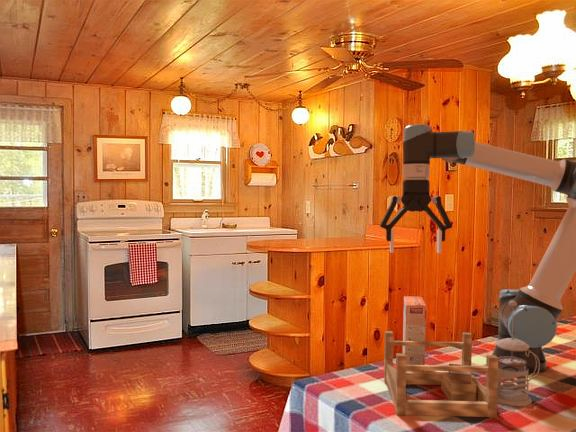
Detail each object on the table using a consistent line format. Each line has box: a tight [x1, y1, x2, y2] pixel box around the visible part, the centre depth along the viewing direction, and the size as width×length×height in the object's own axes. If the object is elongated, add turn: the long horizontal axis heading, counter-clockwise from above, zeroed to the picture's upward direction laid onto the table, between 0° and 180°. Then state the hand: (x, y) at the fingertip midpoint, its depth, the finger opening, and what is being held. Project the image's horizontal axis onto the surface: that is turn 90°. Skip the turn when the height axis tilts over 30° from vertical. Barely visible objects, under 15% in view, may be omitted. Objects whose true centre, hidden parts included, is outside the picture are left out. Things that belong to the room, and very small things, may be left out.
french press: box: [494, 301, 540, 407], centre depth 132 cm, size 10×12×25 cm
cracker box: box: [402, 295, 427, 372], centre depth 152 cm, size 14×6×21 cm, turn 170°
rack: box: [383, 330, 498, 418], centre depth 132 cm, size 23×22×14 cm
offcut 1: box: [448, 363, 472, 384], centre depth 133 cm, size 5×7×2 cm
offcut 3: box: [440, 382, 476, 401], centre depth 133 cm, size 6×9×2 cm, turn 0°
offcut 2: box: [442, 373, 476, 394], centre depth 133 cm, size 6×8×2 cm
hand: (415, 252), depth 151 cm, fingers open, 13 cm apart
